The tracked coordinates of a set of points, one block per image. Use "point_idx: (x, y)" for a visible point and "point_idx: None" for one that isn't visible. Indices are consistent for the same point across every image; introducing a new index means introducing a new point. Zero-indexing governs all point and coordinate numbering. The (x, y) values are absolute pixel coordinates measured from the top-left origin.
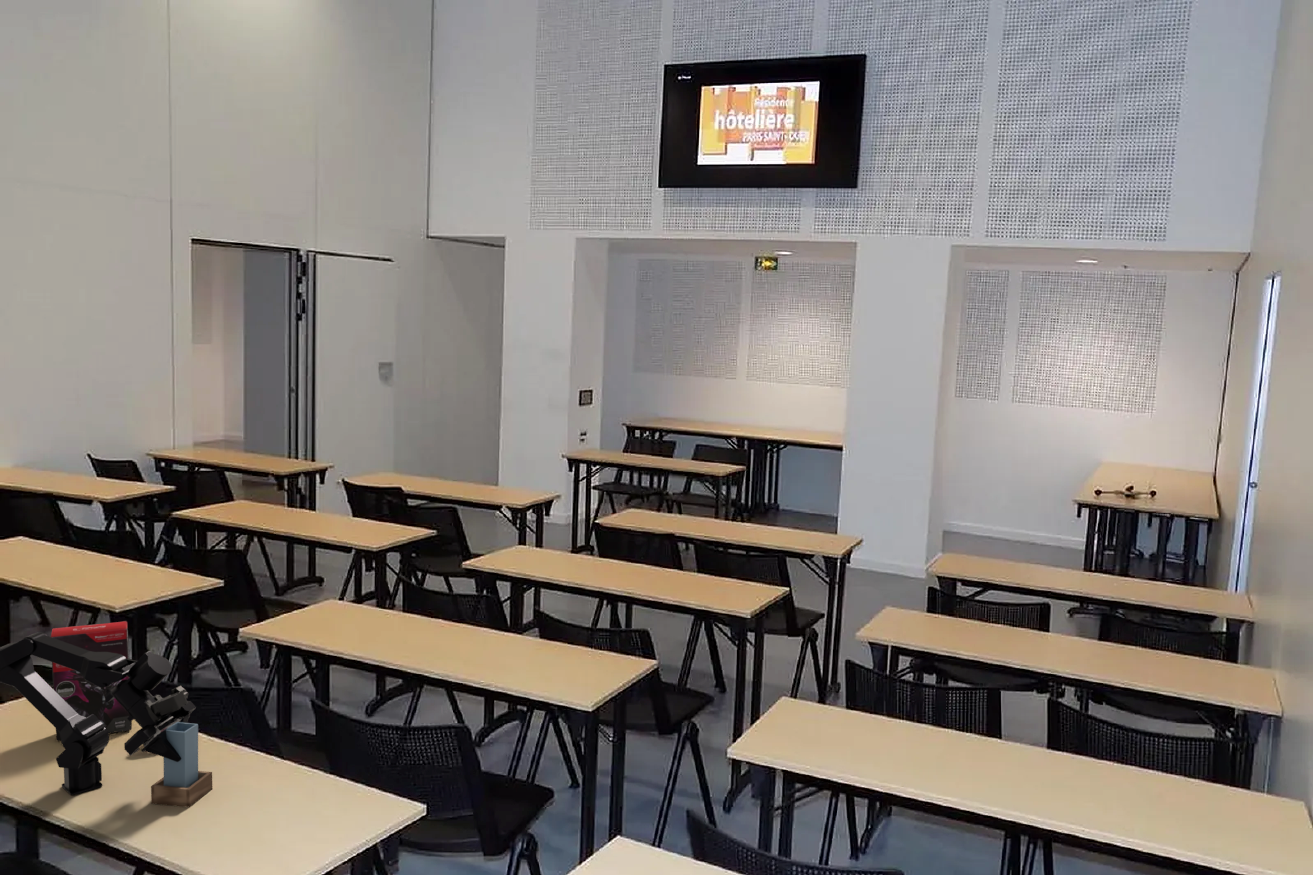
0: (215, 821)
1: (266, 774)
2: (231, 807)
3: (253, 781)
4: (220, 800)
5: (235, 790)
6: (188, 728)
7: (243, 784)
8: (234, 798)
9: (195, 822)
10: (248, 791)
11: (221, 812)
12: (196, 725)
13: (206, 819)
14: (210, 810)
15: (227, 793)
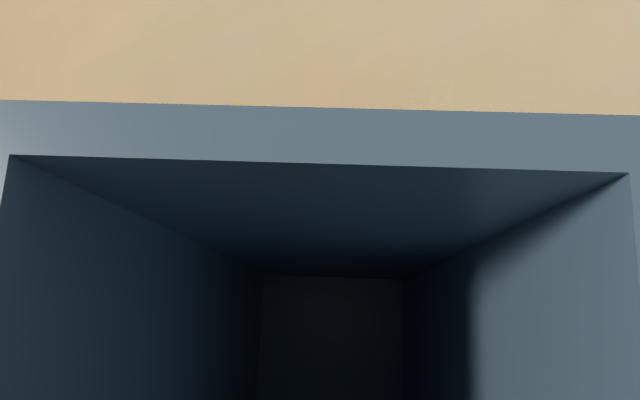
0: (560, 8)
1: (4, 17)
2: (402, 7)
3: (95, 42)
4: (338, 99)
5: (212, 81)
6: (53, 383)
7: (136, 75)
8: (303, 41)
9: (596, 97)
10: (215, 12)
11: (464, 27)
12: (51, 106)
13: (552, 60)
14: (456, 91)
15: (252, 104)
